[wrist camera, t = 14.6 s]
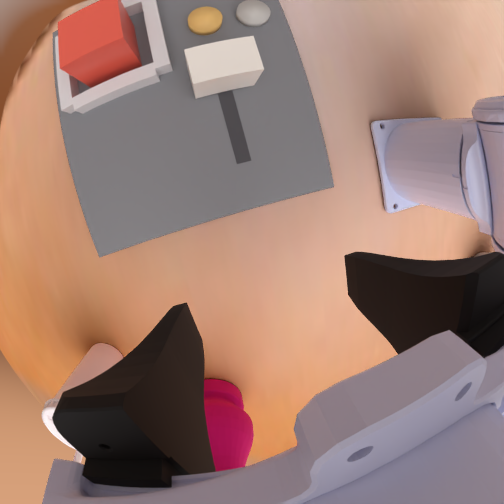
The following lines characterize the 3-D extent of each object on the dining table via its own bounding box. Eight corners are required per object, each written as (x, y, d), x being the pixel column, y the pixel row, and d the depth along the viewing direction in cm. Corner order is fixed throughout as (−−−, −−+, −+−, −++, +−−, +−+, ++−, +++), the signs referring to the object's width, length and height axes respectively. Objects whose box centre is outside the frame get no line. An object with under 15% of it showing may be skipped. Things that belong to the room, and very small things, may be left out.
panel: (262, -23, 13) (268, -40, 11) (327, 185, 20) (343, 188, 18) (58, 37, 12) (45, 26, 10) (104, 252, 19) (92, 264, 16)
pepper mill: (252, 411, 26) (294, 573, 8) (189, 421, 26) (201, 581, 7) (238, 368, 24) (287, 576, 5) (166, 380, 23) (160, 579, 5)
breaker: (245, 56, 15) (253, 35, 12) (254, 85, 16) (264, 69, 13) (187, 68, 15) (183, 49, 11) (195, 98, 15) (193, 83, 12)
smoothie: (97, 384, 23) (64, 494, 9) (67, 335, 20) (6, 447, 7) (148, 377, 23) (131, 505, 10) (119, 325, 21) (68, 462, 8)
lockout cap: (134, 26, 13) (117, -7, 8) (142, 66, 14) (123, 37, 9) (85, 47, 13) (58, 22, 8) (91, 87, 14) (59, 68, 9)
